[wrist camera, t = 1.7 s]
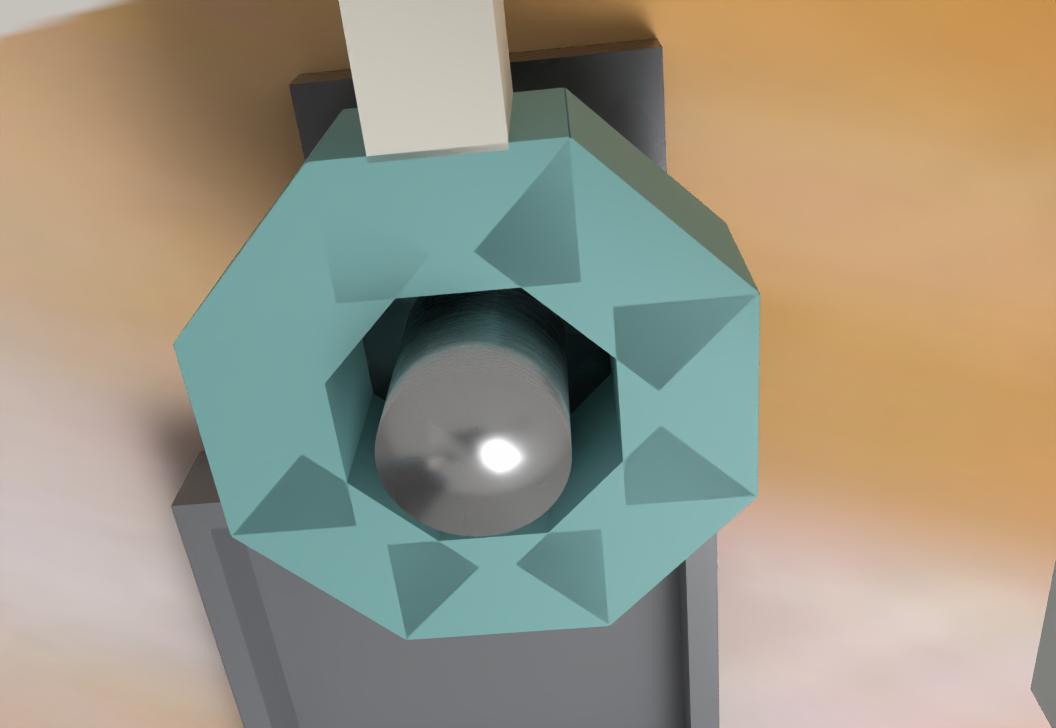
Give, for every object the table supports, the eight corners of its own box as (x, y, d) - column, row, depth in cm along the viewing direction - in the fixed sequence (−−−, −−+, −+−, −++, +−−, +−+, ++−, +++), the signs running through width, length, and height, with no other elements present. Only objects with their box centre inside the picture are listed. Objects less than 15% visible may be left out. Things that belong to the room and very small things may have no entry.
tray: (302, 790, 34) (286, 855, 31) (200, 453, 27) (171, 506, 25) (708, 766, 33) (720, 830, 31) (701, 412, 26) (716, 463, 24)
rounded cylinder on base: (362, 385, 26) (272, 668, 17) (299, 74, 22) (143, 234, 13) (669, 358, 26) (738, 636, 17) (656, 38, 22) (737, 179, 13)
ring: (299, 546, 21) (265, 649, 18) (154, -7, 16) (77, 26, 13) (727, 514, 21) (756, 616, 18) (724, -67, 15) (763, -46, 13)
